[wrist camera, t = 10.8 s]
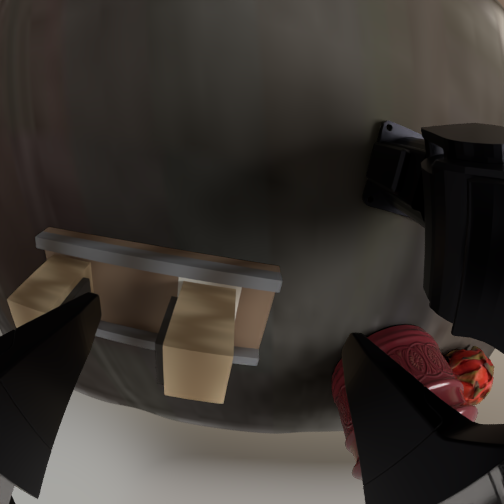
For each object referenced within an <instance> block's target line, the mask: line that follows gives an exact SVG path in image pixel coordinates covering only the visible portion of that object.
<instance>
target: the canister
mask: <svg viewBox="0 0 504 504" xmlns="http://www.w3.org/2000/svg"><path fill="white" fill-rule="evenodd" d="M367 338H368V339H369V340H371V341H372V342H373V343H374V344H375V345H377V346H378V347H379V348H380V349H381V350H383V351H384V352H385V353H386V354H387V355H389V356H390V357H391V358H392V359H393V360H395V361H396V362H397V363H398V364H399V365H401V366H402V367H403V368H404V369H405V370H407V371H408V372H409V373H410V374H411V375H413V376H414V377H415V378H416V379H417V380H418V381H420V382H421V383H422V384H423V385H424V386H426V387H427V388H428V389H429V390H430V391H432V392H433V393H434V394H435V395H437V396H438V397H439V398H440V399H442V400H443V401H444V402H446V403H447V404H448V405H450V406H451V407H453V408H454V409H455V410H457V411H458V412H460V413H461V414H462V415H464V416H465V417H467V418H468V419H470V420H471V421H473V422H475V420H476V418H477V414H478V410H477V408H476V407H475V406H473V405H468V404H467V402H466V400H465V397H464V395H463V393H464V386H463V384H462V382H461V381H459V380H458V379H457V377H456V376H455V374H454V372H453V371H452V369H451V367H450V366H449V364H448V363H447V361H446V360H445V358H444V357H443V355H442V354H441V352H440V350H439V347H438V344H437V343H436V342H435V340H434V339H433V337H432V336H431V335H429V334H428V333H426V331H425V330H423V329H422V328H420V327H418V326H414V325H399V326H394V327H390V328H387V329H384V330H381V331H379V332H377V333H374V334H372V335H370V336H369V337H367ZM332 395H333V399H334V402H335V404H336V406H337V408H338V411H339V415H340V419H341V423H342V426H343V430H344V434H345V438H346V441H345V446H346V448H347V450H348V451H350V452H351V453H353V456H354V459H355V461H356V464H355V466H354V468H353V470H352V475H353V476H354V477H355V478H357V479H360V480H362V474H361V468H360V462H359V456H358V450H357V445H356V439H355V434H354V428H353V423H352V418H351V413H350V408H349V403H348V399H347V394H346V389H345V381H344V371H343V362H342V358H341V360H340V361H339V362H338V364H337V365H336V367H335V369H334V371H333V374H332Z"/></svg>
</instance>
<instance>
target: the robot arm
mask: <svg viewBox="0 0 504 504" xmlns="http://www.w3.org/2000/svg"><path fill="white" fill-rule="evenodd" d="M387 125H389V126H390V129H389V130H387V129H386V126H387ZM421 132H422V135H421V134H419V133H417V132H414V131H412V130H410V129H408V128H405V127H403V126H401V125H398V124H396V123H394V122H391V121H384V122H383V123H382V124H381V128H380V132H379V137H378V141H377V143H376V144H374V147H373V151H372V155H371V159H370V163H369V167H368V171H367V174H366V177H367V183H366V186H365V190H364V193H363V197H362V199H363V202H364V203H365V204H366V205H368V206H371V207H375V208H379V209H382V210H386V211H390V212H393V213H397V214H400V215H403V216H407V217H410V218H411V219H413V220H414V221H416V222H417V223H419V224H420V225H421V226H423V227H424V228H425V260H424V282H423V288H424V290H425V293H426V295H427V297H428V299H429V301H430V303H429V306H430V308H431V309H433V310H434V311H435V312H436V313H437V314H438V315H439V316H441V317H442V318H444V319H446V320H447V321H449V322H451V323H453V326H452V330H451V334H452V335H453V336H461V337H470V338H474V339H477V340H480V341H483V342H485V343H487V344H489V345H491V346H493V347H494V348H496V349H498V350H499V351H500V352H502V353H503V354H504V127H502V126H496V125H489V124H480V123H467V124H453V125H442V126H432V127H423V128H421ZM369 196H371V200H370V201H367V198H368V197H369ZM101 316H102V312H101V304H100V297H99V295H98V294H96V293H92V292H87V293H85V294H83V295H81V296H79V297H77V298H75V299H73V300H71V301H69V302H67V303H65V304H63V305H61V306H59V307H57V308H55V309H53V310H51V311H49V312H47V313H45V314H43V315H41V316H39V317H37V318H35V319H33V320H31V321H29V322H27V323H25V324H23V325H21V326H20V327H18V328H16V329H15V330H12V331H10V332H8V333H6V334H4V335H2V336H0V504H15V502H14V500H13V497H12V492H13V488H14V486H16V487H18V488H19V489H21V490H23V491H24V492H26V493H28V494H30V495H31V496H33V497H35V498H37V499H38V497H39V494H40V489H41V486H42V482H43V478H44V474H45V471H46V467H47V464H48V460H49V457H50V454H51V449H52V447H53V444H54V441H55V438H56V435H57V432H58V429H59V426H60V424H61V421H62V418H63V415H64V413H65V410H66V407H67V405H68V402H69V400H70V397H71V395H72V392H73V390H74V387H75V385H76V382H77V380H78V378H79V375H80V373H81V371H82V368H83V366H84V364H85V362H86V359H87V357H88V355H89V352H90V349H91V346H92V343H93V340H94V337H95V334H96V332H97V329H98V326H99V323H100V320H101ZM342 362H343V371H344V381H345V389H346V394H347V399H348V403H349V408H350V413H351V418H352V423H353V428H354V434H355V439H356V445H357V450H358V456H359V462H360V468H361V474H362V481H363V485H364V486H363V488H364V495H365V502H366V504H504V424H489V425H488V424H478V423H475V422H473V421H471V420H470V419H468V418H467V417H465V416H464V415H462V414H461V413H460V412H458V411H457V410H455V409H454V408H453V407H451V406H450V405H448V404H447V403H446V402H444V401H443V400H442V399H440V398H439V397H438V396H437V395H435V394H434V393H433V392H432V391H430V390H429V389H428V388H427V387H426V386H424V385H423V384H422V383H421V382H420V381H418V380H417V379H416V378H415V377H414V376H413V375H411V374H410V373H409V372H408V371H407V370H405V369H404V368H403V367H402V366H401V365H399V364H398V363H397V362H396V361H395V360H393V359H392V358H391V357H390V356H389V355H387V354H386V353H385V352H384V351H383V350H381V349H380V348H379V347H378V346H377V345H375V344H374V343H373V342H372V341H371V340H369V339H368V338H367V337H366V336H364V335H363V334H362V333H351V334H350V335H349V337H348V339H347V341H346V343H345V345H344V347H343V349H342Z"/></svg>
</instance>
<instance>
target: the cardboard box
mask: <svg viewBox="0 0 504 504" xmlns="http://www.w3.org/2000/svg"><path fill="white" fill-rule="evenodd" d="M235 301H236V289H232V288H225V287H219V286H212V285H206V284H200V283H194V282H187V281H183V284H182V287H181V290H180V293H179V296H178V297H174V296H171V299H170V302H169V304H168V307H167V310H166V313H165V315H164V318H163V321H162V324H161V327H160V330H159V332H158V335H157V338H156V341H155V359H156V374H157V384H162V385H164V391H165V395H168V396H174V397H179V398H185V399H191V400H197V401H204V402H212V403H220V404H223V402H224V397H225V393H226V388H227V384H228V379H229V375H230V370H231V366H232V361H233V355H234V327H235Z"/></svg>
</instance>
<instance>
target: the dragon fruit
mask: <svg viewBox="0 0 504 504" xmlns="http://www.w3.org/2000/svg"><path fill="white" fill-rule="evenodd" d="M446 356H448V359H449V363H448V364H449V366H450V367H451V369H452V371H453V372H454V374H455V376H456V377H457V379H458V380H459V381H461V382H462V384H463V386H464V393H463V395H464V397H465V400H466V402H467V404H468V405H477V404H479V403H480V402H481V401H482V400H483V399H484V398H485V397H486V396H487V395H488V394H489V392H490V390H491V387H492V384H493V373H494V372H493V371H494V366H493V364H492V363H491V360H490V359H489V358H487V357H486V356H485V354H484V353H483V351H482V350H481V349H479V348H478V347H476V346H473V347H472V349H471V350H468V351H465V350H463V349H462V350H458V349H456V350H454V351H451V352H449V353H448V354H447V355H445V356H444V357H446Z"/></svg>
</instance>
